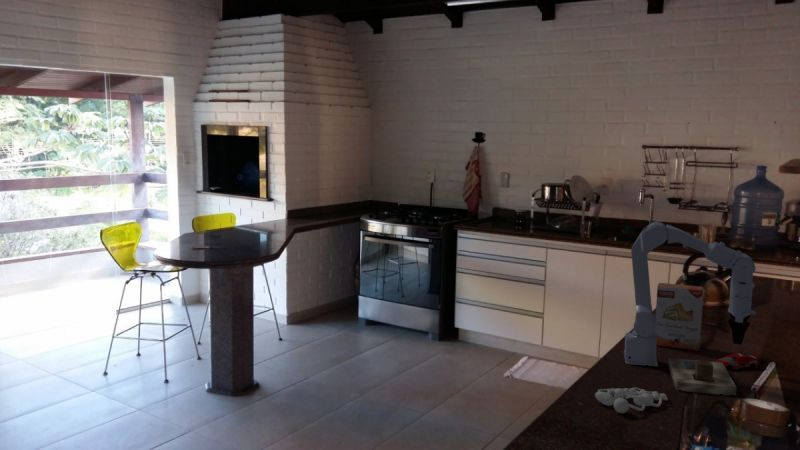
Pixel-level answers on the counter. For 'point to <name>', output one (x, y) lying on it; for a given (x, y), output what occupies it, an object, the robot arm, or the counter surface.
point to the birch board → (685, 381)
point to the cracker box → (679, 316)
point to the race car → (739, 361)
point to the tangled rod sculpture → (622, 404)
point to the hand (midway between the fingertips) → (737, 340)
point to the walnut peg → (703, 371)
